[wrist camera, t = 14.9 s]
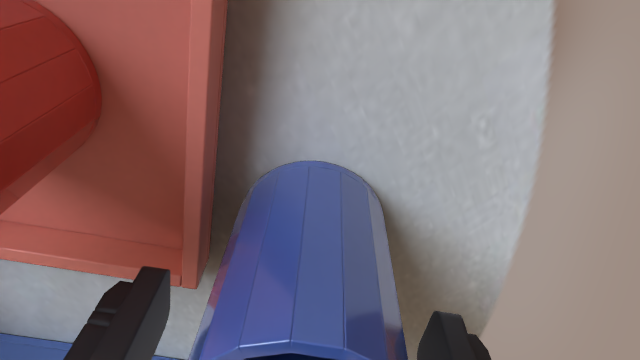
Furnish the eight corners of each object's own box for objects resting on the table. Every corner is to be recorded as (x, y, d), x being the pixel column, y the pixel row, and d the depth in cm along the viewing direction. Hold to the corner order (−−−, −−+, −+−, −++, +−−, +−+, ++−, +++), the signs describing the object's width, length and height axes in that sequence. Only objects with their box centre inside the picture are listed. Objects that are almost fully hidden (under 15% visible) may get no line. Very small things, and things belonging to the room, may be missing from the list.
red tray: (237, -120, 12) (220, -128, 10) (209, 257, 18) (196, 290, 16) (-297, -237, 11) (-413, -267, 9) (-124, 204, 17) (-172, 233, 16)
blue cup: (400, 174, 16) (451, 364, 9) (364, 286, 19) (382, 497, 12) (248, 147, 15) (178, 323, 9) (235, 265, 18) (174, 470, 11)
